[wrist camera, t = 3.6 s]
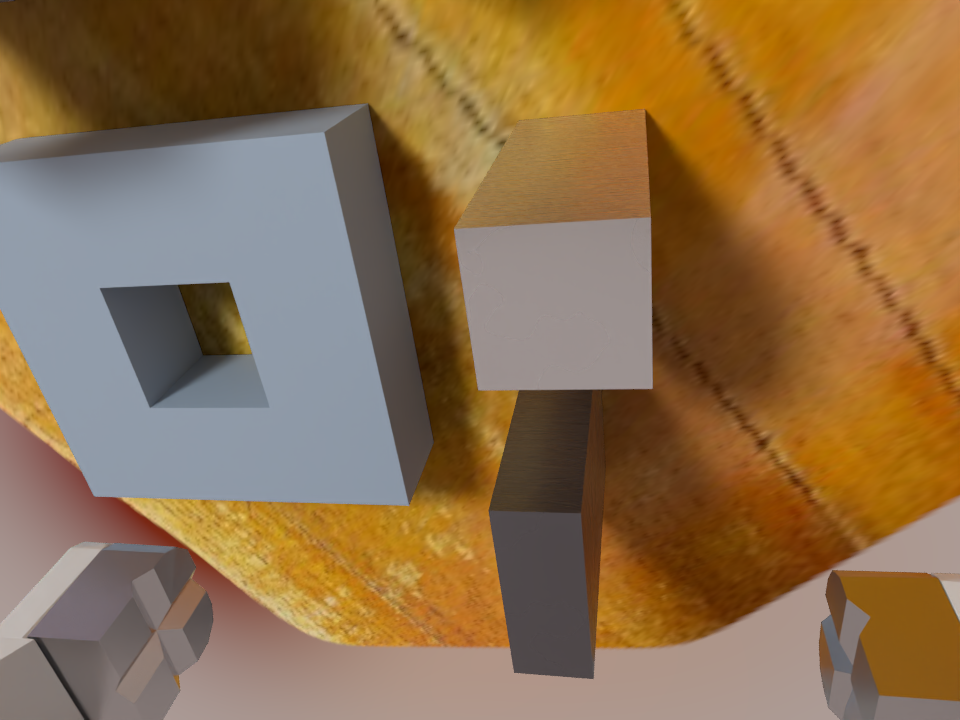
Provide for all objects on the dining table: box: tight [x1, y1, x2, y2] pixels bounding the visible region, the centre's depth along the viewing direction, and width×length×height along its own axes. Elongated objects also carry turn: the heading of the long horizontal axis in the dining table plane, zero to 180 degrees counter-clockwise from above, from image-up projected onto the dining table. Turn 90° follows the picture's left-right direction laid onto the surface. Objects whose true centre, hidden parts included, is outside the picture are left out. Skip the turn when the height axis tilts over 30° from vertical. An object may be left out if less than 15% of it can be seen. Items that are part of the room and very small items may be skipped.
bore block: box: [0, 103, 434, 506], centre depth 27 cm, size 14×14×4 cm
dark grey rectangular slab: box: [489, 389, 606, 679], centre depth 25 cm, size 2×6×10 cm, turn 8°
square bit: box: [454, 109, 653, 390], centre depth 20 cm, size 4×4×10 cm
